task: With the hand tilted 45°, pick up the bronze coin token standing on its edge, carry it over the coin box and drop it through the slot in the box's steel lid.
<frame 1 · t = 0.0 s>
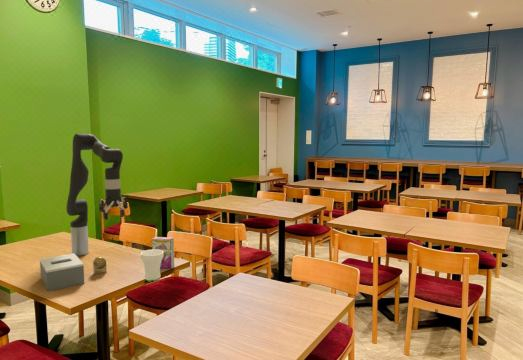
hand: (114, 218, 200), 29 cm above the table, tool pointing down, fingers open, 8 cm apart
coin box: (62, 280, 191), on the table
token: (100, 273, 202), on the table
cup: (152, 280, 194), on the table
candy bar box: (163, 267, 212), on the table
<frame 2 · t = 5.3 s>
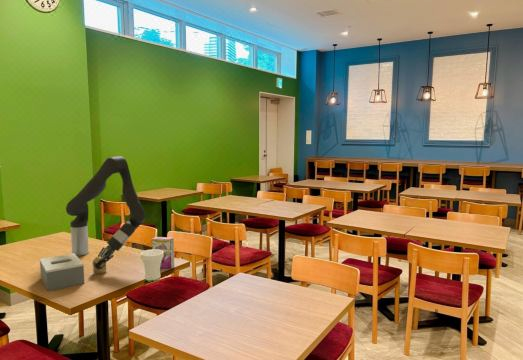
hand: (95, 266, 200), 4 cm above the table, tool tilted 45°, fingers closed on token, 2 cm apart
token: (99, 273, 202), on the table, touching gripper
everything else where it was.
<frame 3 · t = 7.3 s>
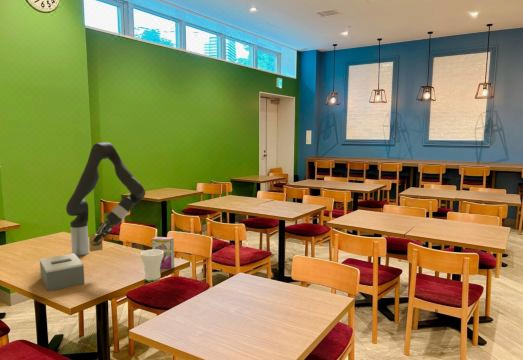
hand: (93, 240, 199), 18 cm above the table, tool tilted 45°, fingers closed on token, 2 cm apart
token: (95, 250, 200), point 13 cm above the table, touching gripper
everything else where it was.
when the fingers open (16 cm above the table, at t = 9.3 s): token drops 10 cm, resting on coin box.
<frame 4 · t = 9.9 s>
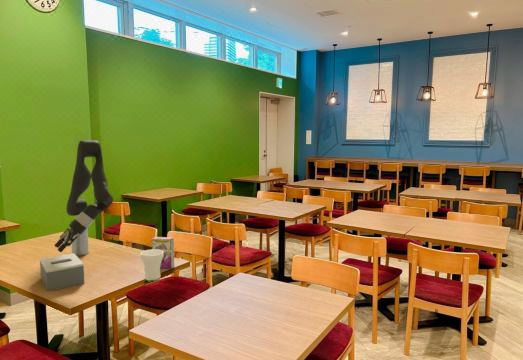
hand: (57, 248, 188), 17 cm above the table, tool tilted 45°, fingers open, 8 cm apart
token: (59, 279, 191), point 1 cm above the table, touching coin box
everything else where it was.
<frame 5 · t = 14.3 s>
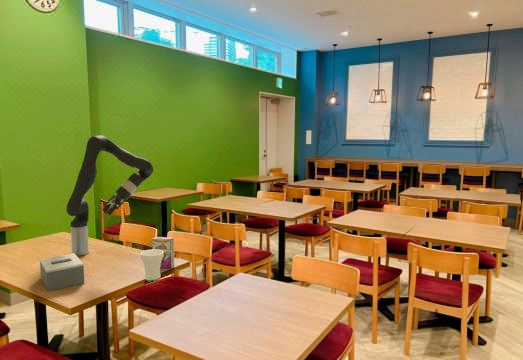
hand: (105, 212, 207), 31 cm above the table, tool tilted 45°, fingers open, 8 cm apart
nothing on the table moved.
at the end: token inside the target area on the coin box (1.2 cm from its centre), point 0.6 cm above the coin box's base; the gripper is holding nothing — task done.
